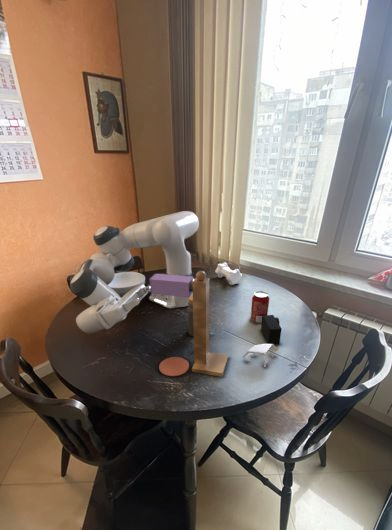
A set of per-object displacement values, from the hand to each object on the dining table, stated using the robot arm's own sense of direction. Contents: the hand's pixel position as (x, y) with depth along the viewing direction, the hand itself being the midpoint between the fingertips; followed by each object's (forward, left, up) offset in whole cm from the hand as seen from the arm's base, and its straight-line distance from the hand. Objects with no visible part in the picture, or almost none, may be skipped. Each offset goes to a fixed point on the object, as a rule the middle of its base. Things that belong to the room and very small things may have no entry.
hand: (145, 293), depth 93 cm
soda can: (+23, +42, -24) cm, 53 cm away
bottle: (+5, +21, -24) cm, 32 cm away
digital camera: (+32, +32, -24) cm, 51 cm away
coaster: (+10, -1, -24) cm, 26 cm away
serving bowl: (-46, +37, -24) cm, 63 cm away
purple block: (+9, +2, +1) cm, 9 cm away
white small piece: (+34, +17, -24) cm, 45 cm away
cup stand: (+16, +4, -24) cm, 29 cm away
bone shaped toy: (-7, +75, -24) cm, 79 cm away
